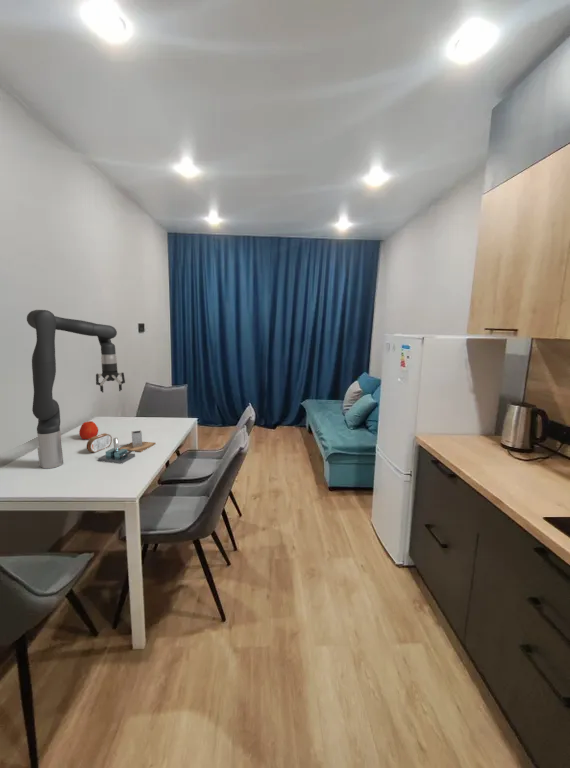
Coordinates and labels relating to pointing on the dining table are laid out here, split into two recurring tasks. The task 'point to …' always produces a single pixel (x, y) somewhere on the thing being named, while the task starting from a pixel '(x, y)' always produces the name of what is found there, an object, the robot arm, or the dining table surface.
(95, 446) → the tin
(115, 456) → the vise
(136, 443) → the sleeve
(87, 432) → the apple
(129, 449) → the board
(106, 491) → the dining table surface
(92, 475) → the dining table surface
